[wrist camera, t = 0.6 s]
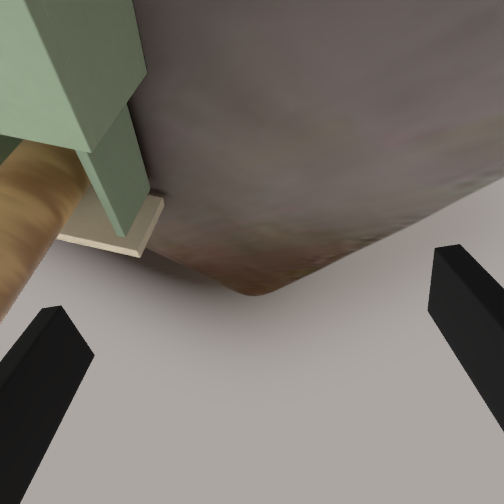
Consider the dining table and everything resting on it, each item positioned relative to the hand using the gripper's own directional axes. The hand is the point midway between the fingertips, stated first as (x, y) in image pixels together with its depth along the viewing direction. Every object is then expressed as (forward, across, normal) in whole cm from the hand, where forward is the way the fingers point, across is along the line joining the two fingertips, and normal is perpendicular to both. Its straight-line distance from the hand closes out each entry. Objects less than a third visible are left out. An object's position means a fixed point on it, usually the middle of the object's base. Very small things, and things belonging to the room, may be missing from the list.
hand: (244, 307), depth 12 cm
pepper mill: (+19, -14, +4) cm, 24 cm away
